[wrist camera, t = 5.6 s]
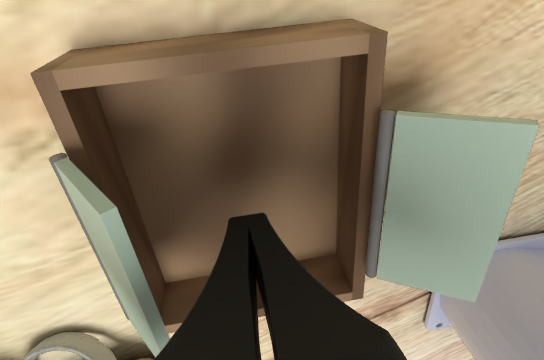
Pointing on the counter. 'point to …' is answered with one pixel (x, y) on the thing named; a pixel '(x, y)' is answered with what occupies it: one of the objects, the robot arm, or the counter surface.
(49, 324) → the counter surface
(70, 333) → the ceramic mug
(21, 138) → the counter surface
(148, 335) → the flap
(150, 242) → the crate
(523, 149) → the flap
